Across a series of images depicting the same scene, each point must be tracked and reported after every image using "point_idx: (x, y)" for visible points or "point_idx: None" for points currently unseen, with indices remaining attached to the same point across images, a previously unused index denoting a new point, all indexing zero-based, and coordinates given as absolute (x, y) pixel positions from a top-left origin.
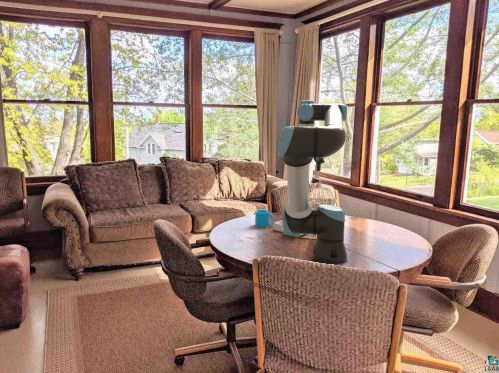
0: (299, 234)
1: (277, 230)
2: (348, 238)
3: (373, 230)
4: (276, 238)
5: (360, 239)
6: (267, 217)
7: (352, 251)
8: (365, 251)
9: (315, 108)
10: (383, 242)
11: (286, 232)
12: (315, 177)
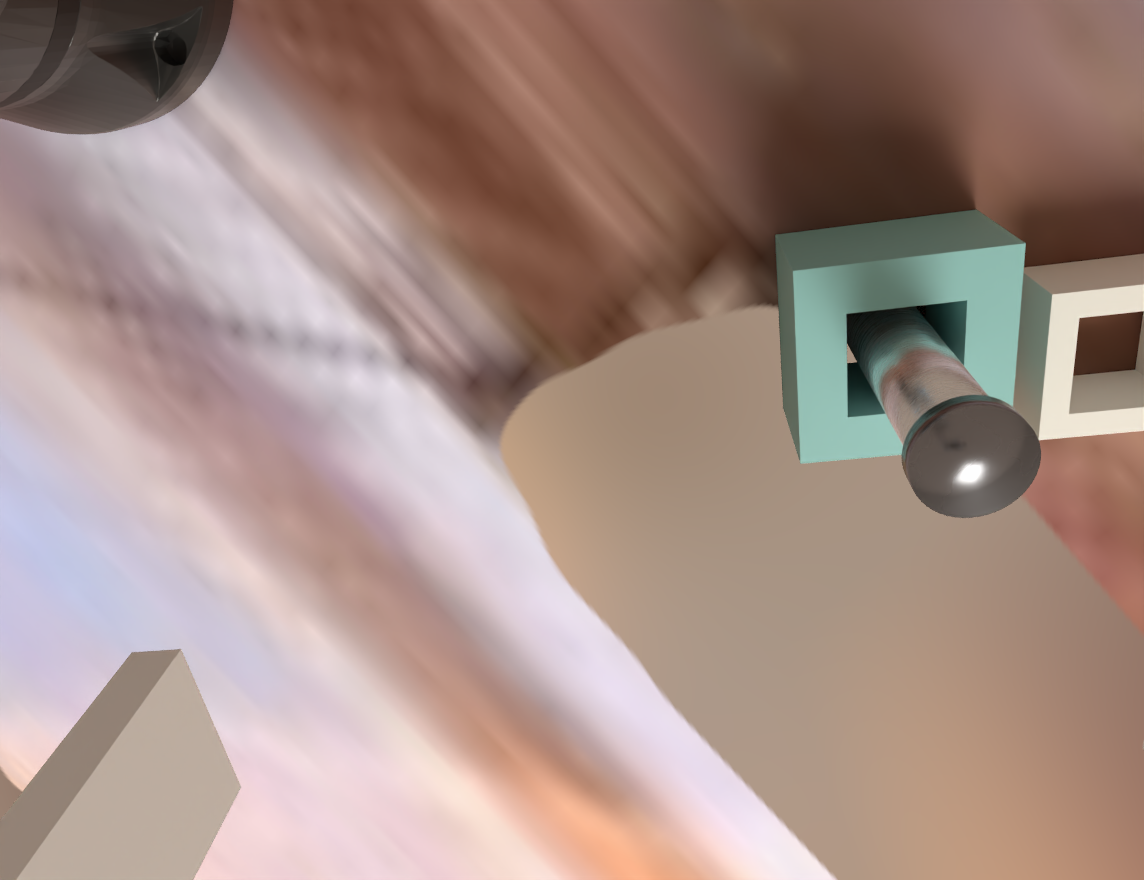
0: (780, 283)
1: (1120, 257)
2: (437, 566)
3: (478, 844)
4: (926, 2)
5: (362, 609)
6: None
7: (140, 300)
8: (94, 383)
9: None
10: (213, 661)
11: (937, 221)
12: (131, 665)
